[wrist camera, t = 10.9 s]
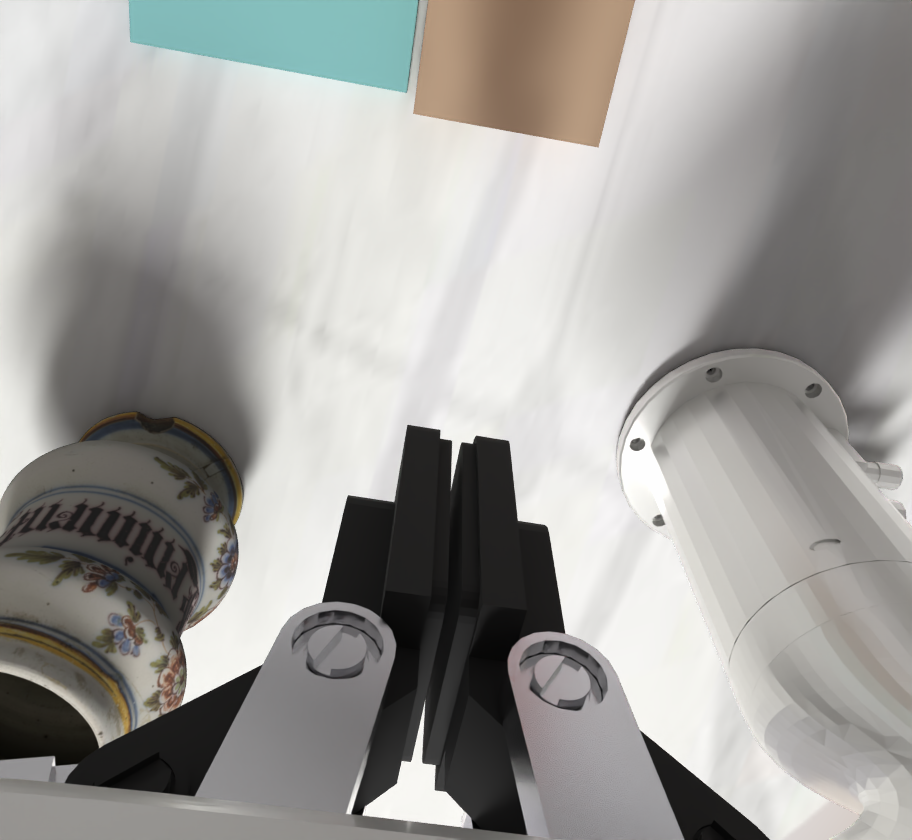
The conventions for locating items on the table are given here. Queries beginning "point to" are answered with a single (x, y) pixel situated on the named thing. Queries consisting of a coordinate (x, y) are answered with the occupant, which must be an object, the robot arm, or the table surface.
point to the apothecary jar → (109, 580)
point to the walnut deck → (523, 64)
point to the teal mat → (289, 35)
